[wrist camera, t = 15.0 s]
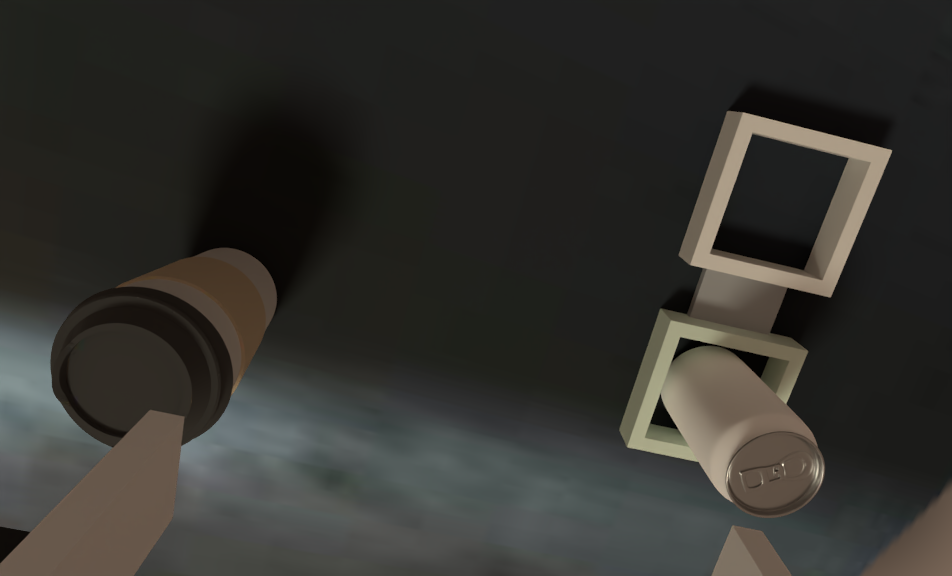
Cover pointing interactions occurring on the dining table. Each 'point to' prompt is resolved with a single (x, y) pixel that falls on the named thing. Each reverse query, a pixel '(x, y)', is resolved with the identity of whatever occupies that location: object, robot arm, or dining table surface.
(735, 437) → the can
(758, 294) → the socket panel
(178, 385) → the coffee cup
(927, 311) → the dining table surface
